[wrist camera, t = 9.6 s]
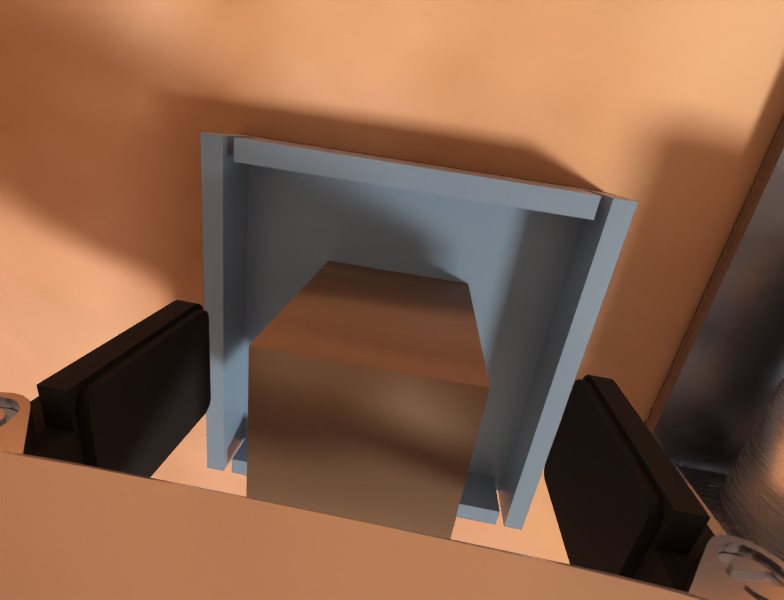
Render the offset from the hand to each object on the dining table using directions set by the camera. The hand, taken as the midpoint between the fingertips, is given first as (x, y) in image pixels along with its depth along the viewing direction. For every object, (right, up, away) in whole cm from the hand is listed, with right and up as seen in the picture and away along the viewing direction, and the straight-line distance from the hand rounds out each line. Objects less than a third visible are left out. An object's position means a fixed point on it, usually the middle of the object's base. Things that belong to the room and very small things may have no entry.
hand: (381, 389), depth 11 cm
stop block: (0, +1, +4) cm, 4 cm away
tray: (0, +1, +4) cm, 4 cm away
